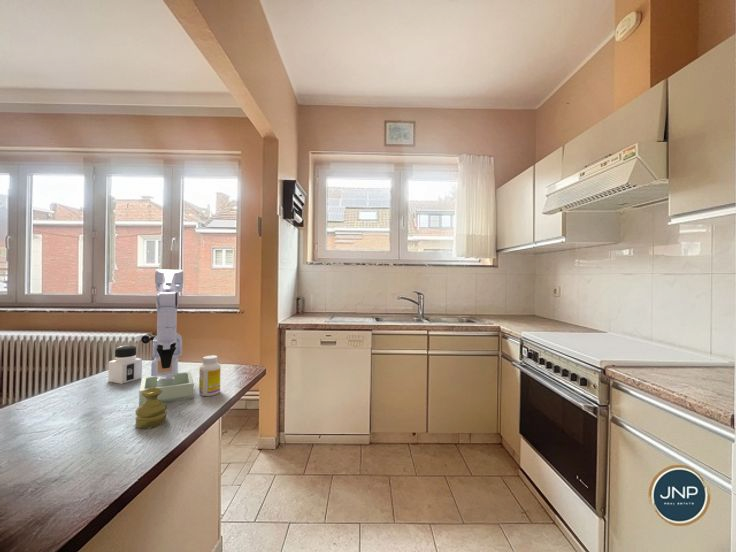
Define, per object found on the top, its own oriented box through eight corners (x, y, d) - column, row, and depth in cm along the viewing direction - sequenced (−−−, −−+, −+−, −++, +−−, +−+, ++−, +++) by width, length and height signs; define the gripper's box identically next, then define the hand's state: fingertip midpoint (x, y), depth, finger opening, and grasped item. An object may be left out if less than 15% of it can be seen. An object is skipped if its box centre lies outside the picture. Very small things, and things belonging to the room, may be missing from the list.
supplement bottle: (223, 390, 118) (224, 355, 118) (213, 397, 112) (214, 359, 112) (206, 389, 119) (207, 354, 119) (194, 396, 112) (195, 358, 112)
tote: (142, 391, 115) (142, 377, 115) (190, 384, 123) (190, 371, 123) (139, 406, 103) (139, 390, 103) (193, 398, 111) (193, 383, 110)
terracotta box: (158, 370, 113) (158, 358, 113) (171, 368, 115) (171, 357, 115) (157, 373, 110) (158, 361, 110) (171, 371, 112) (171, 359, 112)
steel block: (157, 391, 114) (157, 376, 113) (173, 388, 116) (174, 374, 116) (156, 395, 109) (157, 380, 109) (174, 393, 112) (174, 378, 112)
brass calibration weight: (132, 431, 87) (133, 393, 87) (137, 420, 94) (138, 385, 94) (165, 426, 90) (166, 390, 90) (167, 415, 97) (168, 381, 97)
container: (142, 378, 130) (142, 345, 129) (121, 384, 122) (122, 349, 122) (128, 375, 132) (129, 343, 132) (107, 381, 125) (108, 347, 125)
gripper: (153, 324, 117) (153, 362, 117) (152, 330, 104) (151, 373, 104) (176, 323, 120) (176, 360, 121) (177, 329, 108) (176, 370, 108)
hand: (166, 366), depth 113 cm, fingers closed on terracotta box, 4 cm apart
